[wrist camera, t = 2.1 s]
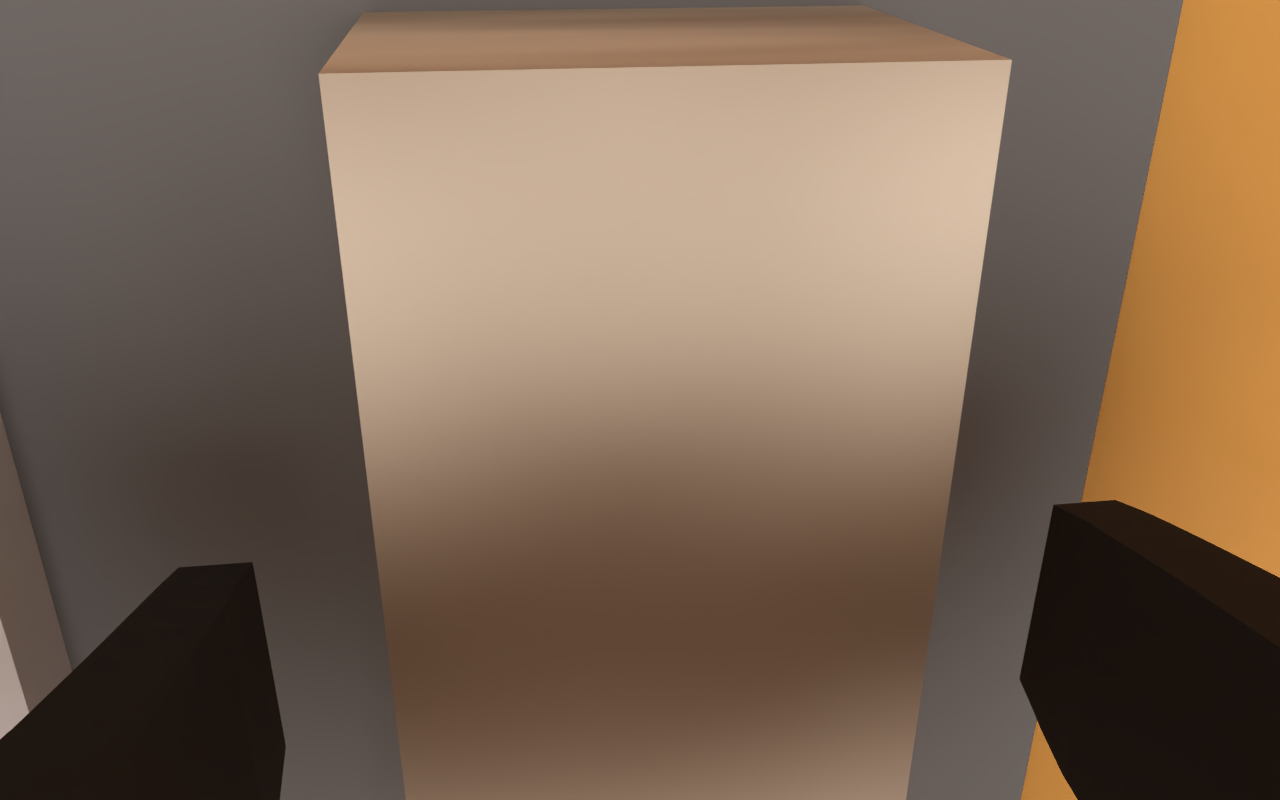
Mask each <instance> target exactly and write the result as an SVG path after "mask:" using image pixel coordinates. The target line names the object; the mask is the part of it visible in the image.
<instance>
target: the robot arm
mask: <svg viewBox="0 0 1280 800" xmlns="http://www.w3.org/2000/svg"><path fill="white" fill-rule="evenodd" d="M1019 679H1020V681H1021V684H1022V686H1023V688H1024V691H1025V693H1026V695H1027V698H1028V700H1029V702H1030V705H1031V707H1032V709H1033V711H1034V714H1035V716H1036V718H1037V721H1038V723H1039V725H1040V728H1041V730H1042V732H1043V734H1044V736H1045V738H1046V741H1047V743H1048V745H1049V747H1050V749H1051V751H1052V753H1053V755H1054V757H1055V759H1056V761H1057V764H1058V766H1059V768H1060V770H1061V772H1062V774H1063V776H1064V777H1065V779H1066V781H1067V782H1068V784H1069V786H1070V787H1071V789H1072V791H1073V792H1074V794H1075V796H1076V797H1077V799H1078V800H1280V578H1279V577H1277V576H1275V575H1273V574H1271V573H1269V572H1267V571H1265V570H1263V569H1261V568H1259V567H1257V566H1255V565H1253V564H1251V563H1249V562H1247V561H1245V560H1243V559H1241V558H1239V557H1237V556H1235V555H1233V554H1231V553H1229V552H1227V551H1225V550H1223V549H1221V548H1219V547H1217V546H1215V545H1213V544H1211V543H1209V542H1207V541H1205V540H1203V539H1201V538H1199V537H1197V536H1195V535H1193V534H1191V533H1189V532H1187V531H1185V530H1183V529H1181V528H1179V527H1177V526H1174V525H1172V524H1170V523H1168V522H1166V521H1164V520H1162V519H1159V518H1157V517H1155V516H1153V515H1151V514H1148V513H1146V512H1144V511H1141V510H1139V509H1137V508H1134V507H1132V506H1129V505H1126V504H1124V503H1121V502H1119V501H1116V500H1111V501H1097V502H1083V503H1069V504H1055V505H1053V509H1052V514H1051V519H1050V524H1049V530H1048V535H1047V540H1046V545H1045V550H1044V555H1043V560H1042V565H1041V571H1040V576H1039V581H1038V586H1037V591H1036V596H1035V601H1034V606H1033V612H1032V617H1031V622H1030V627H1029V632H1028V637H1027V642H1026V647H1025V652H1024V658H1023V663H1022V668H1021V673H1020V678H1019ZM285 750H286V744H285V738H284V733H283V727H282V722H281V716H280V711H279V705H278V699H277V694H276V688H275V683H274V677H273V672H272V666H271V661H270V655H269V650H268V644H267V639H266V633H265V628H264V622H263V616H262V611H261V605H260V600H259V594H258V589H257V583H256V578H255V572H254V567H253V562H247V563H233V564H219V565H205V566H191V567H178V568H177V569H176V570H175V571H174V572H173V573H172V574H171V575H170V576H169V577H168V578H166V579H165V580H164V581H163V582H162V583H161V584H160V585H159V586H158V587H157V588H156V589H155V590H154V591H153V592H152V593H151V594H150V595H149V596H148V597H147V598H146V599H145V600H144V601H143V602H142V603H141V604H140V605H139V606H138V607H137V608H136V609H135V610H134V611H133V612H132V613H131V614H130V615H129V616H128V617H127V618H126V619H125V620H124V621H123V622H122V623H121V624H120V625H119V626H118V627H117V628H116V629H115V630H114V631H113V632H112V633H111V634H110V635H109V636H108V637H107V638H106V639H105V640H104V641H103V642H102V643H101V644H100V645H99V646H98V647H97V648H96V649H95V650H94V651H93V652H92V653H91V654H90V655H89V656H88V657H87V658H86V659H85V660H84V661H82V662H81V663H80V664H79V665H78V666H77V667H76V668H75V669H74V670H73V671H72V672H71V673H70V674H69V675H68V676H67V677H66V678H65V679H64V680H63V681H62V682H61V683H60V684H59V685H58V686H56V687H55V688H54V689H53V690H52V691H51V692H50V693H49V694H48V695H47V696H46V697H45V698H44V699H43V700H42V701H41V702H40V703H39V704H38V705H37V706H36V707H35V708H34V709H33V710H31V711H30V712H29V713H28V714H27V715H26V716H25V717H24V718H23V719H22V720H21V721H20V722H19V723H18V724H17V725H16V726H15V727H13V728H12V729H11V730H10V731H9V732H8V733H7V734H6V735H4V736H3V737H2V738H1V739H0V800H280V794H281V785H282V776H283V767H284V758H285Z"/></svg>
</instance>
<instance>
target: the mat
mask: <svg viewBox="0 0 1280 800" xmlns="http://www.w3.org/2000/svg"><path fill="white" fill-rule="evenodd" d="M1182 3H1183V0H0V739H1V738H2V737H3V736H4V735H6V734H7V733H8V732H9V731H10V730H11V729H12V728H13V727H15V726H16V725H17V724H18V723H19V722H20V721H21V720H22V719H23V718H24V717H25V716H26V715H27V714H28V713H29V712H30V711H31V710H33V709H34V708H35V707H36V706H37V705H38V704H39V703H40V702H41V701H42V700H43V699H44V698H45V697H46V696H47V695H48V694H49V693H50V692H51V691H52V690H53V689H54V688H55V687H56V686H58V685H59V684H60V683H61V682H62V681H63V680H64V679H65V678H66V677H67V676H68V675H69V674H70V673H71V672H72V671H73V670H74V669H75V668H76V667H77V666H78V665H79V664H80V663H81V662H82V661H84V660H85V659H86V658H87V657H88V656H89V655H90V654H91V653H92V652H93V651H94V650H95V649H96V648H97V647H98V646H99V645H100V644H101V643H102V642H103V641H104V640H105V639H106V638H107V637H108V636H109V635H110V634H111V633H112V632H113V631H114V630H115V629H116V628H117V627H118V626H119V625H120V624H121V623H122V622H123V621H124V620H125V619H126V618H127V617H128V616H129V615H130V614H131V613H132V612H133V611H134V610H135V609H136V608H137V607H138V606H139V605H140V604H141V603H142V602H143V601H144V600H145V599H146V598H147V597H148V596H149V595H150V594H151V593H152V592H153V591H154V590H155V589H156V588H157V587H158V586H159V585H160V584H161V583H162V582H163V581H164V580H165V579H166V578H168V577H169V576H170V575H171V574H172V573H173V572H174V571H175V570H176V569H177V568H178V567H191V566H205V565H219V564H233V563H247V562H253V567H254V572H255V578H256V583H257V589H258V594H259V600H260V605H261V611H262V616H263V622H264V628H265V633H266V639H267V644H268V650H269V655H270V661H271V666H272V672H273V677H274V683H275V688H276V694H277V699H278V705H279V711H280V716H281V722H282V727H283V733H284V738H285V744H286V750H285V758H284V767H283V776H282V785H281V794H280V800H406V798H405V789H404V781H403V773H402V764H401V756H400V748H399V739H398V731H397V723H396V714H395V706H394V698H393V690H392V681H391V673H390V665H389V656H388V648H387V640H386V631H385V623H384V615H383V606H382V598H381V590H380V581H379V573H378V565H377V557H376V548H375V540H374V532H373V523H372V515H371V507H370V498H369V490H368V482H367V473H366V465H365V457H364V448H363V440H362V432H361V424H360V415H359V407H358V399H357V390H356V382H355V374H354V365H353V357H352V349H351V340H350V332H349V324H348V315H347V307H346V299H345V291H344V282H343V274H342V266H341V257H340V249H339V241H338V232H337V224H336V216H335V207H334V199H333V191H332V183H331V174H330V166H329V158H328V149H327V141H326V133H325V124H324V116H323V108H322V99H321V91H320V83H319V72H320V71H321V69H322V68H323V67H324V65H325V64H326V63H327V61H328V60H329V59H330V57H331V56H332V54H333V53H334V52H335V50H336V49H337V48H338V46H339V45H340V43H341V42H342V41H343V39H344V38H345V37H346V35H347V34H348V33H349V31H350V30H351V28H352V27H353V26H354V24H355V23H356V22H357V20H358V19H359V18H360V16H361V15H362V13H363V12H420V11H494V10H568V9H642V8H715V7H789V6H863V5H864V6H866V7H869V8H872V9H875V10H877V11H880V12H883V13H886V14H888V15H891V16H894V17H896V18H899V19H902V20H905V21H907V22H910V23H913V24H916V25H918V26H921V27H924V28H927V29H929V30H932V31H935V32H937V33H940V34H943V35H946V36H948V37H951V38H954V39H957V40H959V41H962V42H965V43H968V44H970V45H973V46H976V47H979V48H981V49H984V50H987V51H989V52H992V53H995V54H998V55H1000V56H1003V57H1006V58H1009V59H1011V60H1012V64H1011V71H1010V78H1009V85H1008V92H1007V98H1006V105H1005V112H1004V119H1003V126H1002V133H1001V140H1000V147H999V154H998V161H997V168H996V175H995V182H994V189H993V196H992V203H991V210H990V217H989V224H988V231H987V238H986V245H985V252H984V259H983V266H982V273H981V280H980V287H979V294H978V301H977V308H976V315H975V322H974V329H973V336H972V343H971V350H970V357H969V364H968V371H967V378H966V385H965V392H964V399H963V406H962V413H961V420H960V427H959V434H958V441H957V448H956V455H955V462H954V469H953V475H952V482H951V489H950V496H949V503H948V510H947V517H946V524H945V531H944V538H943V545H942V552H941V559H940V566H939V573H938V580H937V587H936V594H935V601H934V608H933V615H932V622H931V629H930V636H929V643H928V650H927V657H926V664H925V671H924V678H923V685H922V692H921V699H920V706H919V713H918V720H917V727H916V734H915V741H914V748H913V755H912V762H911V769H910V776H909V783H908V790H907V797H906V800H1020V799H1021V795H1022V790H1023V785H1024V780H1025V775H1026V770H1027V765H1028V760H1029V755H1030V750H1031V745H1032V740H1033V736H1034V731H1035V726H1036V721H1037V718H1036V716H1035V714H1034V711H1033V709H1032V707H1031V705H1030V702H1029V700H1028V698H1027V695H1026V693H1025V691H1024V688H1023V686H1022V684H1021V681H1020V679H1019V678H1020V673H1021V668H1022V663H1023V658H1024V652H1025V647H1026V642H1027V637H1028V632H1029V627H1030V622H1031V617H1032V612H1033V606H1034V601H1035V596H1036V591H1037V586H1038V581H1039V576H1040V571H1041V565H1042V560H1043V555H1044V550H1045V545H1046V540H1047V535H1048V530H1049V524H1050V519H1051V514H1052V509H1053V505H1055V504H1069V503H1081V500H1082V495H1083V490H1084V485H1085V480H1086V475H1087V470H1088V465H1089V460H1090V455H1091V451H1092V446H1093V441H1094V436H1095V431H1096V426H1097V421H1098V416H1099V411H1100V406H1101V401H1102V396H1103V392H1104V387H1105V382H1106V377H1107V372H1108V367H1109V362H1110V357H1111V352H1112V347H1113V342H1114V338H1115V333H1116V328H1117V323H1118V318H1119V313H1120V308H1121V303H1122V298H1123V293H1124V288H1125V283H1126V279H1127V274H1128V269H1129V264H1130V259H1131V254H1132V249H1133V244H1134V239H1135V234H1136V229H1137V224H1138V220H1139V215H1140V210H1141V205H1142V200H1143V195H1144V190H1145V185H1146V180H1147V175H1148V170H1149V166H1150V161H1151V156H1152V151H1153V146H1154V141H1155V136H1156V131H1157V126H1158V121H1159V116H1160V111H1161V107H1162V102H1163V97H1164V92H1165V87H1166V82H1167V77H1168V72H1169V67H1170V62H1171V57H1172V53H1173V48H1174V43H1175V38H1176V33H1177V28H1178V23H1179V18H1180V13H1181V8H1182Z"/></svg>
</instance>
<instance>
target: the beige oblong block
mask: <svg viewBox="0 0 1280 800" xmlns="http://www.w3.org/2000/svg"><path fill="white" fill-rule="evenodd" d="M1011 64H1012V60H1011V59H1009V58H1006V57H1003V56H1000V55H998V54H995V53H992V52H989V51H987V50H984V49H981V48H979V47H976V46H973V45H970V44H968V43H965V42H962V41H959V40H957V39H954V38H951V37H948V36H946V35H943V34H940V33H937V32H935V31H932V30H929V29H927V28H924V27H921V26H918V25H916V24H913V23H910V22H907V21H905V20H902V19H899V18H896V17H894V16H891V15H888V14H886V13H883V12H880V11H877V10H875V9H872V8H869V7H866V6H864V5H863V6H789V7H715V8H642V9H568V10H494V11H420V12H363V13H362V15H361V16H360V18H359V19H358V20H357V22H356V23H355V24H354V26H353V27H352V28H351V30H350V31H349V33H348V34H347V35H346V37H345V38H344V39H343V41H342V42H341V43H340V45H339V46H338V48H337V49H336V50H335V52H334V53H333V54H332V56H331V57H330V59H329V60H328V61H327V63H326V64H325V65H324V67H323V68H322V69H321V71H320V72H319V83H320V91H321V99H322V108H323V116H324V124H325V133H326V141H327V149H328V158H329V166H330V174H331V183H332V191H333V199H334V207H335V216H336V224H337V232H338V241H339V249H340V257H341V266H342V274H343V282H344V291H345V299H346V307H347V315H348V324H349V332H350V340H351V349H352V357H353V365H354V374H355V382H356V390H357V399H358V407H359V415H360V424H361V432H362V440H363V448H364V457H365V465H366V473H367V482H368V490H369V498H370V507H371V515H372V523H373V532H374V540H375V548H376V557H377V565H378V573H379V581H380V590H381V598H382V606H383V615H384V623H385V631H386V640H387V648H388V656H389V665H390V673H391V681H392V690H393V698H394V706H395V714H396V723H397V731H398V739H399V748H400V756H401V764H402V773H403V781H404V789H405V798H406V800H906V797H907V790H908V783H909V776H910V769H911V762H912V755H913V748H914V741H915V734H916V727H917V720H918V713H919V706H920V699H921V692H922V685H923V678H924V671H925V664H926V657H927V650H928V643H929V636H930V629H931V622H932V615H933V608H934V601H935V594H936V587H937V580H938V573H939V566H940V559H941V552H942V545H943V538H944V531H945V524H946V517H947V510H948V503H949V496H950V489H951V482H952V475H953V469H954V462H955V455H956V448H957V441H958V434H959V427H960V420H961V413H962V406H963V399H964V392H965V385H966V378H967V371H968V364H969V357H970V350H971V343H972V336H973V329H974V322H975V315H976V308H977V301H978V294H979V287H980V280H981V273H982V266H983V259H984V252H985V245H986V238H987V231H988V224H989V217H990V210H991V203H992V196H993V189H994V182H995V175H996V168H997V161H998V154H999V147H1000V140H1001V133H1002V126H1003V119H1004V112H1005V105H1006V98H1007V92H1008V85H1009V78H1010V71H1011Z"/></svg>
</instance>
